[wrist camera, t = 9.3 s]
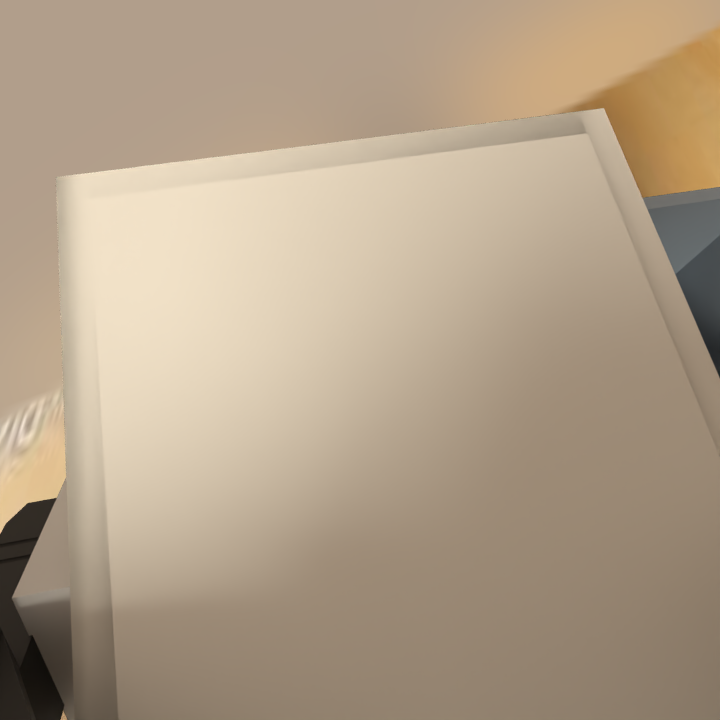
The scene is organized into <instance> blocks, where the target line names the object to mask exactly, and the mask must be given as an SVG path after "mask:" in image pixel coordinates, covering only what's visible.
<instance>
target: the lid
mask: <svg viewBox="0 0 720 720" xmlns="http://www.w3.org/2000/svg"><path fill="white" fill-rule="evenodd" d="M56 193H57V224H58V253H59V282H60V310H61V339H62V366H63V367H62V369H63V398H64V427H65V457H66V486H67V515H68V544H69V573H70V602H71V631H72V660H73V689H74V718H75V720H720V378H719V375H718V373H717V371H716V368H715V366H714V364H713V361H712V359H711V357H710V354H709V352H708V350H707V347H706V345H705V343H704V340H703V338H702V336H701V333H700V331H699V329H698V326H697V324H696V322H695V319H694V317H693V315H692V312H691V310H690V308H689V305H688V303H687V301H686V298H685V296H684V294H683V291H682V289H681V287H680V284H679V282H678V280H677V277H676V275H675V273H674V270H673V268H672V266H671V263H670V261H669V259H668V256H667V254H666V252H665V249H664V247H663V245H662V242H661V240H660V238H659V235H658V233H657V231H656V228H655V226H654V224H653V221H652V219H651V217H650V214H649V212H648V210H647V208H646V205H645V203H644V201H643V198H642V196H641V194H640V191H639V189H638V187H637V184H636V182H635V180H634V177H633V175H632V173H631V170H630V168H629V166H628V163H627V161H626V159H625V156H624V154H623V152H622V149H621V147H620V145H619V142H618V140H617V138H616V135H615V133H614V131H613V128H612V126H611V124H610V121H609V119H608V117H607V114H606V112H605V110H604V108H601V109H594V110H586V111H578V112H570V113H562V114H554V115H546V116H539V117H530V118H522V119H515V120H506V121H499V122H491V123H483V124H475V125H467V126H459V127H452V128H443V129H435V130H427V131H420V132H411V133H403V134H395V135H388V136H379V137H372V138H364V139H356V140H348V141H340V142H332V143H325V144H316V145H308V146H300V147H292V148H284V149H276V150H268V151H261V152H253V153H245V154H237V155H229V156H221V157H213V158H205V159H198V160H189V161H181V162H174V163H166V164H157V165H149V166H142V167H134V168H127V169H118V170H110V171H102V172H94V173H86V174H78V175H70V176H63V177H56Z"/></svg>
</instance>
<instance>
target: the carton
mask: <svg viewBox="0 0 720 720" xmlns="http://www.w3.org/2000/svg"><path fill="white" fill-rule="evenodd" d="M643 201H644V203H645V205H646V208H647V210H648V212H649V214H650V217H651V219H652V221H653V224H654V226H655V228H656V231H657V233H658V235H659V238H660V240H661V242H662V245H663V247H664V249H665V252H666V254H667V256H668V259H669V261H670V263H671V266H672V268H673V270H674V273H675V275H676V277H677V280H678V282H679V284H680V287H681V289H682V291H683V294H684V296H685V298H686V301H687V303H688V305H689V308H690V310H691V312H692V315H693V317H694V319H695V322H696V324H697V326H698V329H699V331H700V333H701V336H702V338H703V340H704V343H705V345H706V347H707V350H708V352H709V354H710V357H711V359H712V361H713V364H714V366H715V368H716V371H717V373H718V375H719V378H720V187H716V188H709V189H702V190H695V191H688V192H681V193H674V194H667V195H659V196H652V197H645V198H643Z"/></svg>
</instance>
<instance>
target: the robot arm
mask: <svg viewBox="0 0 720 720" xmlns="http://www.w3.org/2000/svg"><path fill="white" fill-rule="evenodd" d="M63 711H64V713H65V715H66V717H67V719H68V720H75V718H74V689H73V660H72V631H71V602H70V573H69V544H68V515H67V486H66V479H65V481H64V483H63V485H62V488H61V490H60V492H59V494H58V496H57V498H54V499H48V500H43V501H37V502H32V503H28V504H26V505H25V506H24V507H23V508H22V509H21V510H20V511H19V512H18V513H17V514H16V515H15V516H14V517H13V518H12V519H11V520H9V521H8V522H7V523H6V525H5V526H4V528H3V530H2V532H1V534H0V720H60V719H61V716H62V712H63Z"/></svg>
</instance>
